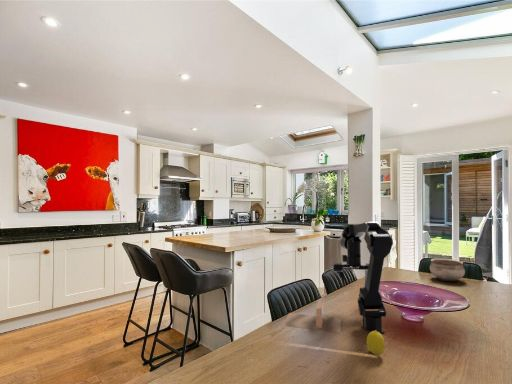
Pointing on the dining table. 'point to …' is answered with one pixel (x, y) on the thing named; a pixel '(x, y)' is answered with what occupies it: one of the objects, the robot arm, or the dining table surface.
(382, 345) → the lemon
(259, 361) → the dining table surface
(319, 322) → the tile
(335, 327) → the board
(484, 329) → the dining table surface
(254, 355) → the dining table surface
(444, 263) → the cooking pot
